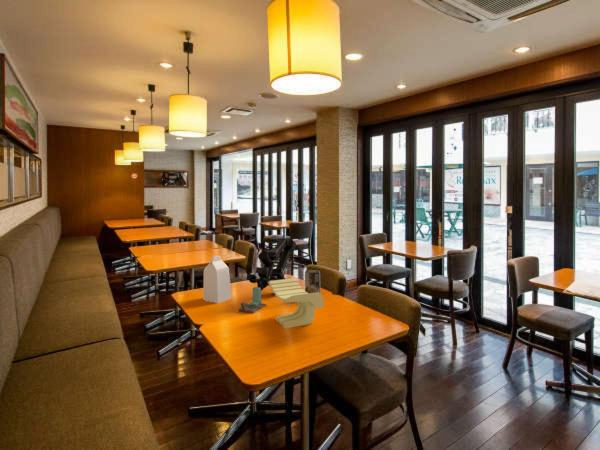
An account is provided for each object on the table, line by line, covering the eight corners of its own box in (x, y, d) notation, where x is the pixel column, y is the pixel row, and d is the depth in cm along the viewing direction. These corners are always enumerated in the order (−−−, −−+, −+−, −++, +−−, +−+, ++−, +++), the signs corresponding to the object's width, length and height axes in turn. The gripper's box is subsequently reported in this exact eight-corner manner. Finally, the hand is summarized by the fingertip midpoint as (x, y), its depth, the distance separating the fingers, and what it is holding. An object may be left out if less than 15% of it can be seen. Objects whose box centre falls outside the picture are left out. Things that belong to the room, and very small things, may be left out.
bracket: (252, 303, 211) (251, 296, 211) (265, 305, 208) (265, 298, 207) (238, 311, 198) (238, 303, 198) (253, 313, 195) (253, 305, 194)
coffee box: (320, 296, 226) (320, 270, 224) (320, 299, 219) (320, 272, 218) (305, 295, 226) (305, 269, 225) (304, 298, 220) (304, 272, 219)
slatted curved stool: (323, 328, 172) (323, 291, 170) (292, 334, 166) (291, 295, 164) (297, 310, 199) (297, 277, 198) (269, 314, 193) (269, 280, 191)
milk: (217, 303, 213) (216, 258, 210) (203, 300, 218) (201, 257, 216) (231, 298, 223) (230, 255, 221) (217, 295, 229) (216, 254, 226)
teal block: (254, 302, 209) (254, 287, 208) (261, 303, 208) (260, 287, 207) (246, 307, 201) (246, 291, 200) (253, 308, 199) (252, 291, 198)
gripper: (248, 260, 215) (238, 283, 206) (276, 262, 208) (267, 286, 199) (255, 271, 223) (245, 293, 214) (283, 273, 216) (274, 296, 207)
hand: (258, 292), depth 208 cm, fingers closed
